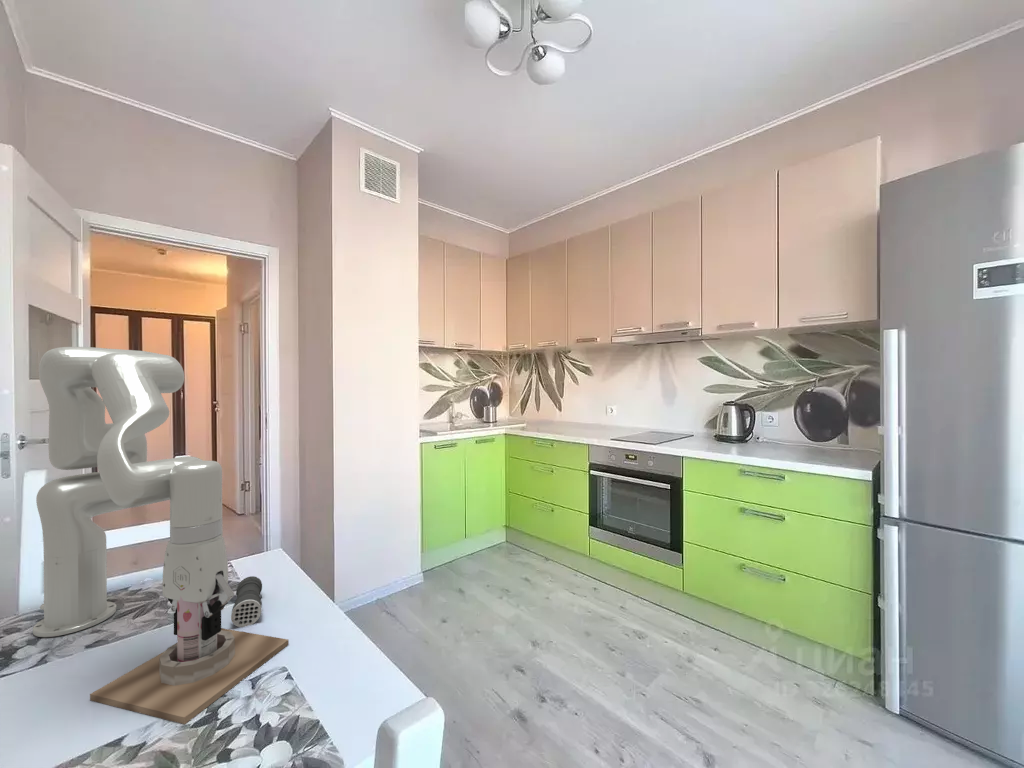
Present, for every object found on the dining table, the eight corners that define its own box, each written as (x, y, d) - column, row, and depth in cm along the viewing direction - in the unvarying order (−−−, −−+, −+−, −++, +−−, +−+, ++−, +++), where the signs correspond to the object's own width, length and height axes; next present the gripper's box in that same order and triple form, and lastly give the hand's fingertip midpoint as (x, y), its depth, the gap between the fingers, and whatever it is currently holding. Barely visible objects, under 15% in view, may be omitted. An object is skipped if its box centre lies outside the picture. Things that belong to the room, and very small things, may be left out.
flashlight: (236, 599, 101) (236, 576, 101) (262, 593, 104) (262, 571, 104) (231, 630, 88) (231, 604, 88) (261, 623, 90) (261, 597, 90)
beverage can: (210, 644, 79) (209, 563, 79) (222, 655, 76) (222, 571, 76) (172, 660, 74) (172, 575, 75) (184, 672, 71) (183, 583, 71)
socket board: (90, 700, 68) (89, 675, 68) (208, 630, 87) (208, 611, 87) (184, 724, 63) (184, 697, 63) (288, 644, 82) (288, 624, 82)
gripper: (138, 534, 74) (138, 638, 74) (214, 543, 69) (215, 653, 69) (181, 521, 81) (182, 616, 81) (253, 528, 77) (254, 628, 77)
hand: (197, 632), depth 75 cm, fingers closed on beverage can, 5 cm apart
